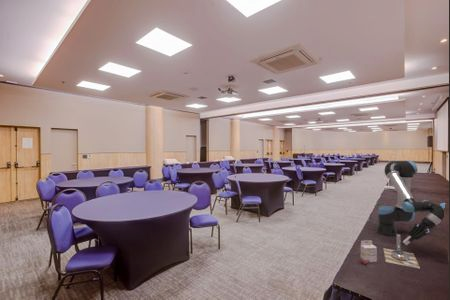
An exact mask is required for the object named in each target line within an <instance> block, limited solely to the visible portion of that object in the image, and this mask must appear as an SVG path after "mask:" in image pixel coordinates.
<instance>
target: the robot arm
mask: <svg viewBox="0 0 450 300" xmlns="http://www.w3.org/2000/svg"><path fill="white" fill-rule="evenodd" d="M383 170H384V175H385V177H386V178H387V179H389V181H390V182H391V184H392V187H394V189H395V191H396V193H397V202H396V203H397V204H395V205H394V206H391V205H383V206H379V207H378V210H377V211H378V212H377V213H378V215H377V216H378V223H377V226H376V231H375V232H376V233H378V234H380V235H382V236H388V237H397V234H398V231H397V228H396V226H395V222H399V223H400V222H401V223H402V222H405V223H408V222H409V223H410V222H412V221H414V220H415V218H416V213H428V214H427V215H425V217H423V218H422V219H421V221H420V223H419V224H418V223H415V224H414V226H413V227H412V228H411V230H410V231H409V232H408V235H409V236H407V237H406V238H405V239H404V240H403V241H402V243H403V244H404V245H406V246H408V245H409V244H410V243H412V242H413V241H414V240H416V241H418V240H420V239H422V238H423V237H425V236H426V235H429V234H431V232H430V230H433V229H434V228H436V226H437V225H439V224H440V223H441V222H442V221H444V220H443V218H444V208H445V204H447V203H446V202H441V203H439V204H438V203H436V202H433V201H431V200H429V199H424V200H422V201H416V200H415V198H414V197H413V195H412V193H411V187H412V179H413V178H414V175H416V174H417V173H418V166H417V164H416V162H414V161H412V160H397V161H396V160H393V161H390V162H387V164H385V166H384V169H383Z"/></svg>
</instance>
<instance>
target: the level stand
mask: <svg viewBox="0 0 450 300" xmlns="http://www.w3.org/2000/svg"><path fill="white" fill-rule="evenodd" d="M392 251H398V250H397V249H390V248H384V247H383V254H384V259H385V263H389V264H393V265H394V264H395V265H399V266H404V267H411V268H416V269H421V268H420V265H419V263H418V260H417V258H416V256H415V253H412V252H407V251H404V252H405V253H407V254H408V255H409V260H399V259H396V258H394V257H392V255H391V252H392Z"/></svg>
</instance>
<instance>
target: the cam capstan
mask: <svg viewBox="0 0 450 300" xmlns="http://www.w3.org/2000/svg"><path fill="white" fill-rule="evenodd" d="M401 235H402V234H400V233H397V235H396V250H397V251H392V252H391V255H392V257H394V258H396V259H399V260H409V255H408V254H407V253H405V252H406V251H403V250H401V249H402V247H401V245H402V242H401V239H402V236H401Z"/></svg>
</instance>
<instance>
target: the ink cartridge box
mask: <svg viewBox="0 0 450 300" xmlns="http://www.w3.org/2000/svg"><path fill="white" fill-rule="evenodd" d="M377 250H378V247H377V246H376V245H374V244H373V239H370V240H360V261H361V263H362V264H364V265H368V263H376V262H378V258H377V257H378V256H377V255H378V251H377Z"/></svg>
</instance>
